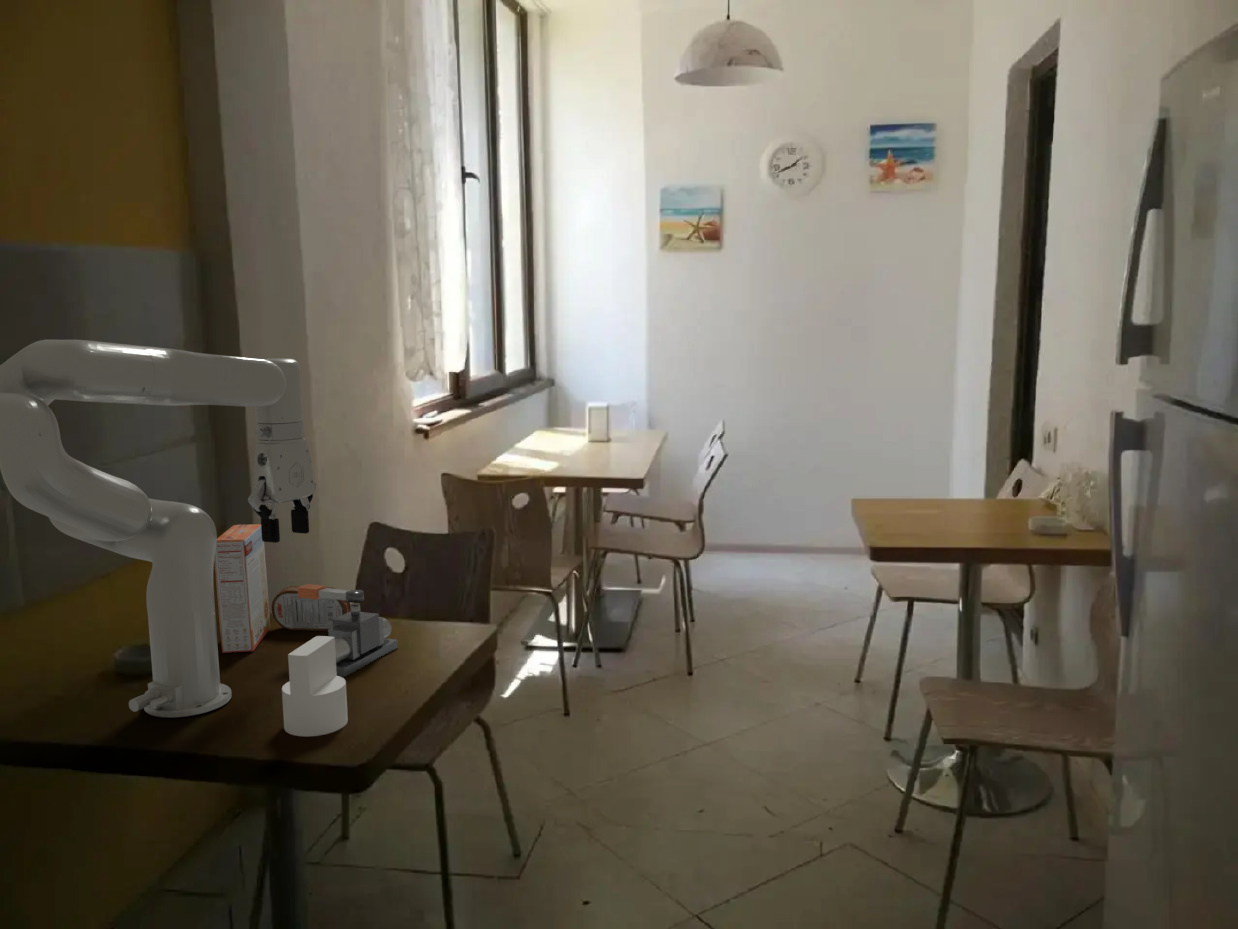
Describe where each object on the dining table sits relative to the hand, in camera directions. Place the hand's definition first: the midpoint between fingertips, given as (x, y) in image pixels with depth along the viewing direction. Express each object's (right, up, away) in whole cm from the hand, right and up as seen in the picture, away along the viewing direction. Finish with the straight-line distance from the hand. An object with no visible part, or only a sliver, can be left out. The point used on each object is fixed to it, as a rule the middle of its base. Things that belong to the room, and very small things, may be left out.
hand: (286, 536), depth 171 cm
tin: (-3, -20, +23) cm, 31 cm away
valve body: (+11, -22, +6) cm, 25 cm away
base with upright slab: (+12, -26, -22) cm, 36 cm away
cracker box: (-13, -21, +17) cm, 30 cm away
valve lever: (+6, -11, +6) cm, 14 cm away
